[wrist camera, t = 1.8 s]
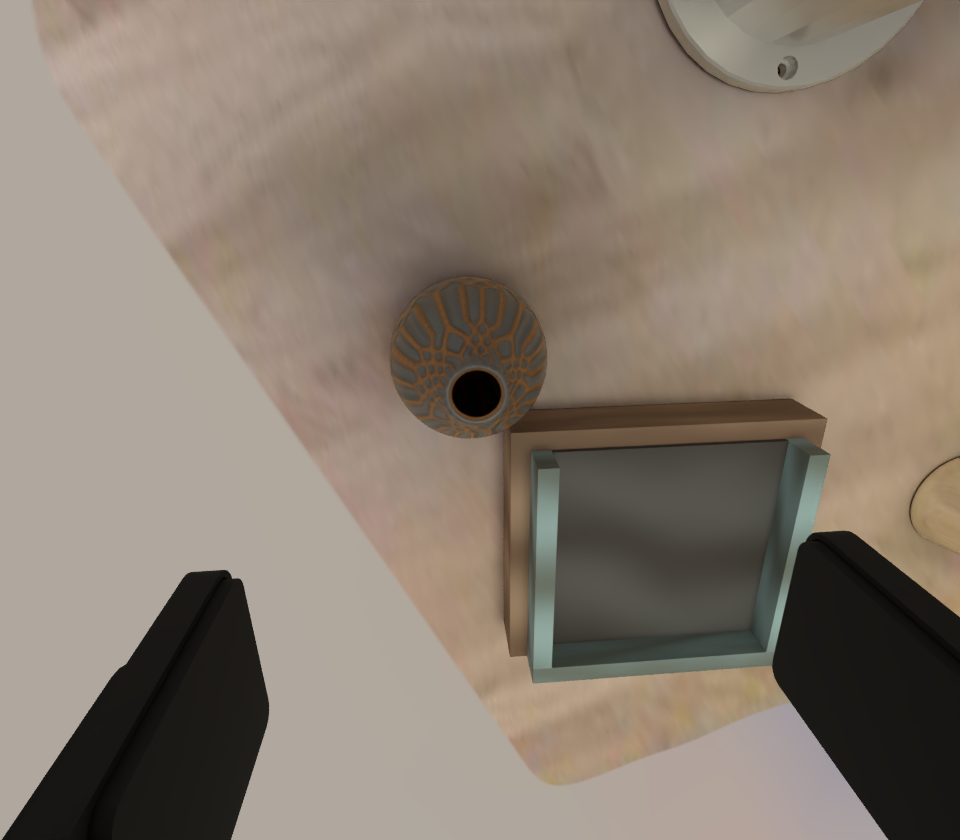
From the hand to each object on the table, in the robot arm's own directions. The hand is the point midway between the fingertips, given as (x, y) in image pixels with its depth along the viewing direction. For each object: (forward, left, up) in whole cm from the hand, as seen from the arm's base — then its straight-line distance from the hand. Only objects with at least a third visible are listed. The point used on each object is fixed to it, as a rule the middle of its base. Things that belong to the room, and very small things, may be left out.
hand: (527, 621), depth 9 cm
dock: (+11, +10, -20) cm, 25 cm away
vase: (0, 0, -20) cm, 20 cm away
